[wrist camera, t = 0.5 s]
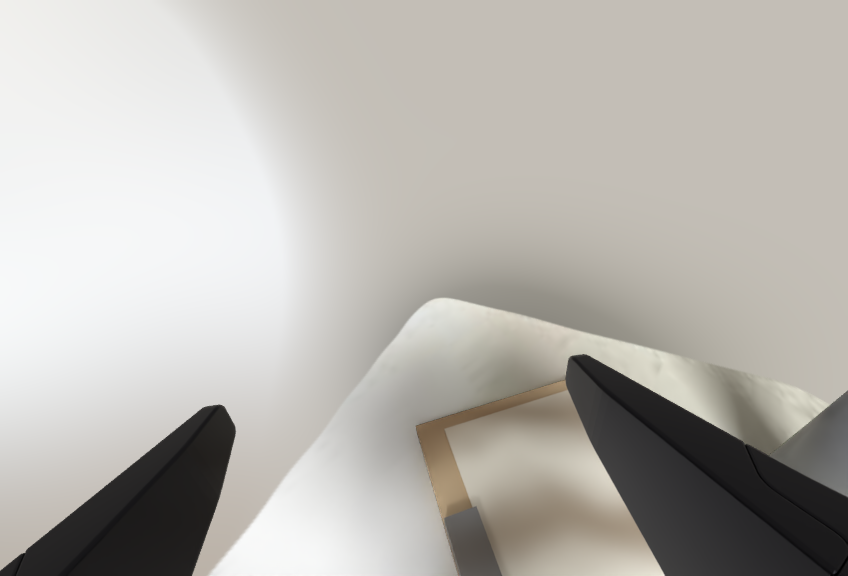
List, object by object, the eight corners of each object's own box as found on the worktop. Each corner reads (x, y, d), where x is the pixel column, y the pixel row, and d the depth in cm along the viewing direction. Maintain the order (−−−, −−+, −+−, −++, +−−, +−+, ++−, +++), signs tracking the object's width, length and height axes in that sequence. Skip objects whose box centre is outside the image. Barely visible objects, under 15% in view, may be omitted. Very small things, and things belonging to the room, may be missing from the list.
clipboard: (851, 721, 14) (885, 722, 13) (555, 912, 11) (566, 934, 10) (577, 381, 28) (582, 367, 27) (416, 431, 25) (414, 418, 24)
